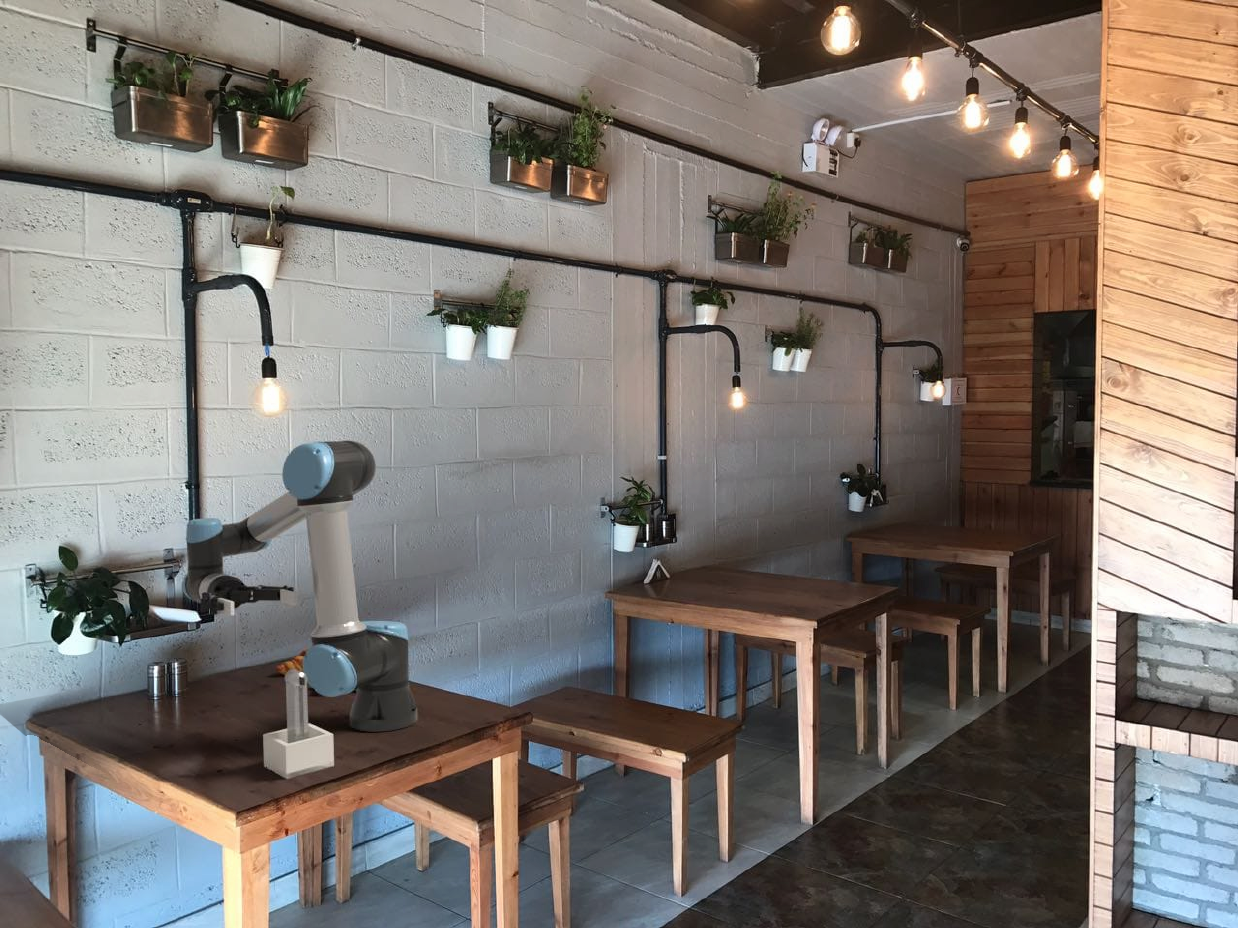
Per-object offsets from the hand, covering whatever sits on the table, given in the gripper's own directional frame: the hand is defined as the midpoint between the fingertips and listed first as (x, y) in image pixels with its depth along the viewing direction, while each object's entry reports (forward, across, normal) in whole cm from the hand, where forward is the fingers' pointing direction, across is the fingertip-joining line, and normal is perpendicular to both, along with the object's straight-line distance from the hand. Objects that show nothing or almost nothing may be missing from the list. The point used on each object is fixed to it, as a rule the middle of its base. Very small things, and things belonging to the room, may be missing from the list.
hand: (264, 603), depth 208 cm
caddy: (+13, 0, -31) cm, 34 cm away
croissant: (-53, -38, -31) cm, 72 cm away
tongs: (+13, 0, -30) cm, 33 cm away
